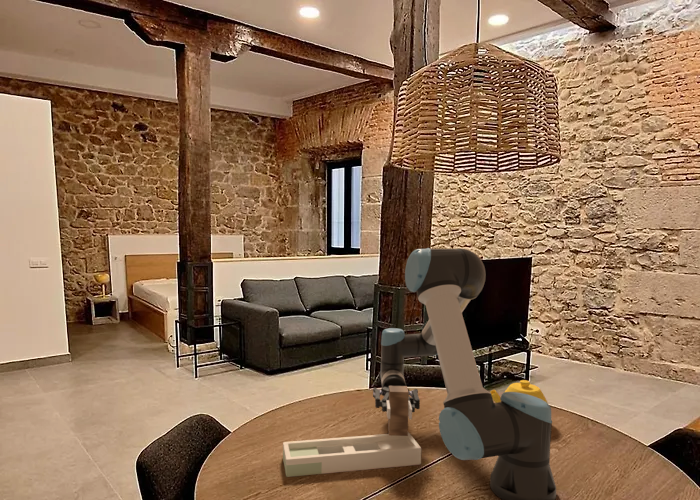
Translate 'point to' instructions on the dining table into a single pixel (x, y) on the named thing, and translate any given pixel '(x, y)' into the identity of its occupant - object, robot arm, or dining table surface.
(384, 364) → the robot arm
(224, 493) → the dining table surface
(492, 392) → the teapot
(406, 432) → the walnut block
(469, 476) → the dining table surface
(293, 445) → the tray
